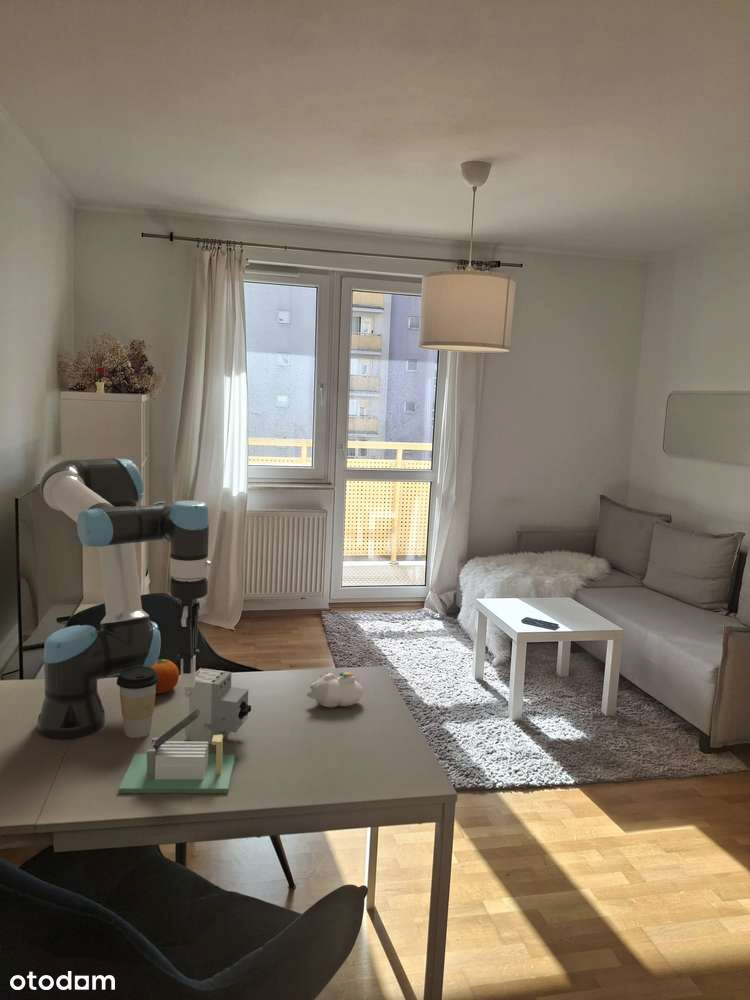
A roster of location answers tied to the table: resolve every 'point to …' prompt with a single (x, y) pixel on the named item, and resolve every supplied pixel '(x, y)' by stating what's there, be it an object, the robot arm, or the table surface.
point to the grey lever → (175, 730)
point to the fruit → (165, 675)
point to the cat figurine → (336, 690)
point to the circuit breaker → (215, 705)
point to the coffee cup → (137, 699)
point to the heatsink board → (177, 785)
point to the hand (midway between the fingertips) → (187, 685)
